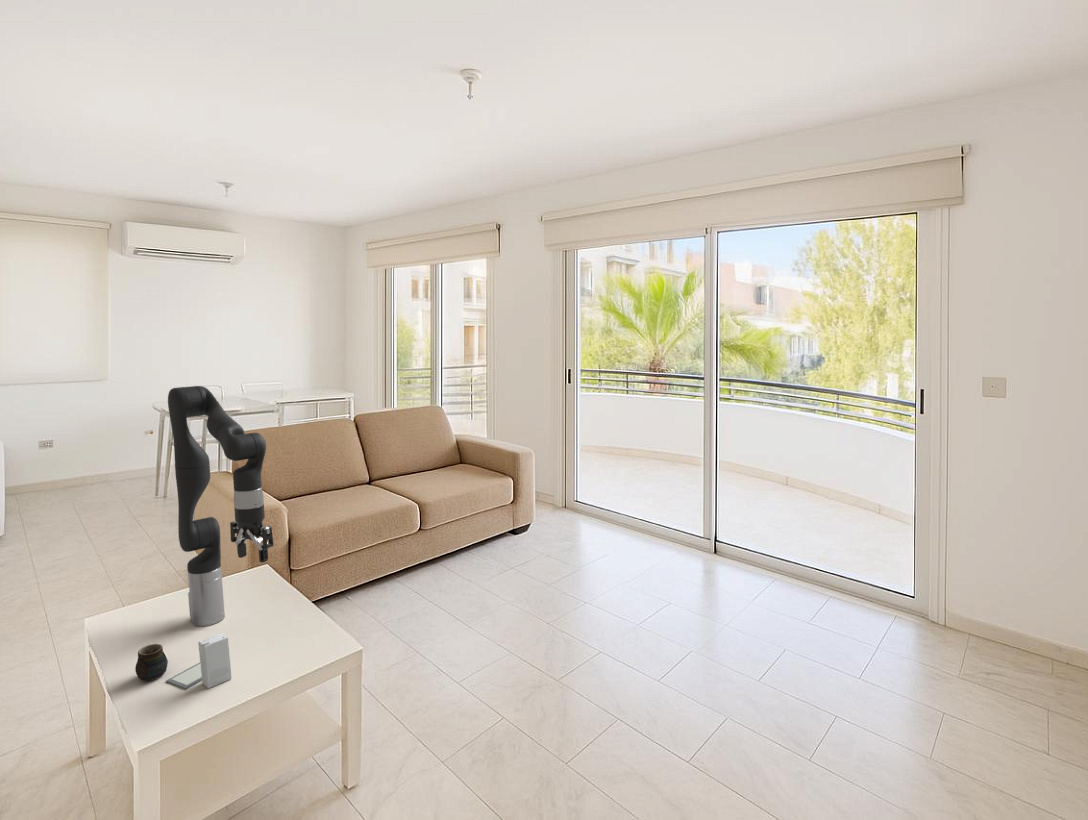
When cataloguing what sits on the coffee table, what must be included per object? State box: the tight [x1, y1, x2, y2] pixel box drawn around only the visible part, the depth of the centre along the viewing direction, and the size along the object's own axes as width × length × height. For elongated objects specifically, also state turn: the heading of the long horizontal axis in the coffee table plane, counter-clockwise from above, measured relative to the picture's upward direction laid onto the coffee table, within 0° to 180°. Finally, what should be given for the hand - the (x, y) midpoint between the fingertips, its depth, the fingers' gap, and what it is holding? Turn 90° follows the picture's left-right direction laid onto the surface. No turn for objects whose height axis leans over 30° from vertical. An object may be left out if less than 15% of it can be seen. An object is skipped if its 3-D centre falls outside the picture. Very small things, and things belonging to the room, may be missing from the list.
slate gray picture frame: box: [165, 662, 202, 690], centre depth 160 cm, size 8×10×1 cm
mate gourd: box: [134, 643, 169, 682], centre depth 159 cm, size 7×8×10 cm
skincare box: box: [197, 632, 233, 689], centre depth 157 cm, size 6×4×12 cm
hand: (253, 559), depth 169 cm, fingers open, 8 cm apart
